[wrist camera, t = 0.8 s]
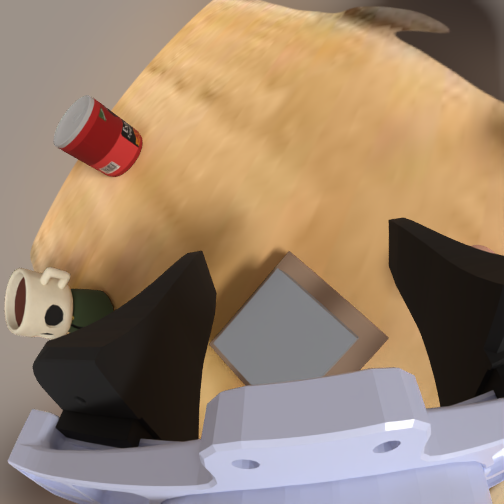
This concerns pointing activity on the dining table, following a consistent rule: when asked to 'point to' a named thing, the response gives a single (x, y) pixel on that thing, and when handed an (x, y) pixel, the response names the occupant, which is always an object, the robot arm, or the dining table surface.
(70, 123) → the canned food
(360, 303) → the dining table surface
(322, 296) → the base slab
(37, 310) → the character mug
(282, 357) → the top slab
